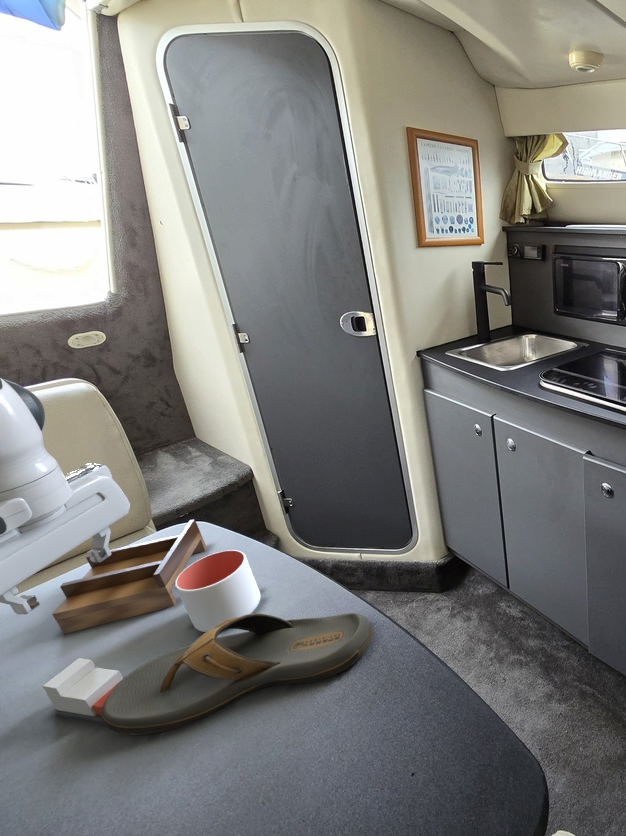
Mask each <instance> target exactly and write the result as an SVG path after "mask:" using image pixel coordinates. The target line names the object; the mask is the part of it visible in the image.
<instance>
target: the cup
mask: <svg viewBox="0 0 626 836" xmlns="http://www.w3.org/2000/svg"><path fill="white" fill-rule="evenodd" d="M251 568H252V567H251V566H250V563H249V561H248V558H247V556H246V554H245V552H243V551H241V550H237V549H228V550H221V551H217V552H214V553H211V554H208V555H206V556H204V557H201V558H200V559H198V560H195V561H194V562H192V563H191V564H189V565H188V566H187V567H185V568H183V570H182V571H181V573H180V574H179V576H178V577H177V579H176V581H175V583H174V587H175V589H176V591H177V593H178V595H179V598H180V600H181V602H182V604H183V606H184V609H185V611H186V612H187V615H188V618H189V620H190V621H191V624H192V625H193V627H194V628H195V629H196V630H197V631H200V632H203V633H206V632H208V631H209V630H212V629H214V628H215V627H216V626H217V625H218V624H219V623H221V622H223V621H226V620H228V619H231V618H236V617H241V616H244V615H248V614H253V612H254V611H255V610H256V609H257V607H258V606H259V604H260V601H261V591H260V588H259V586H258V584H257V581H256V578H255V576H254V573H253V571H252V569H251Z"/></svg>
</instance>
